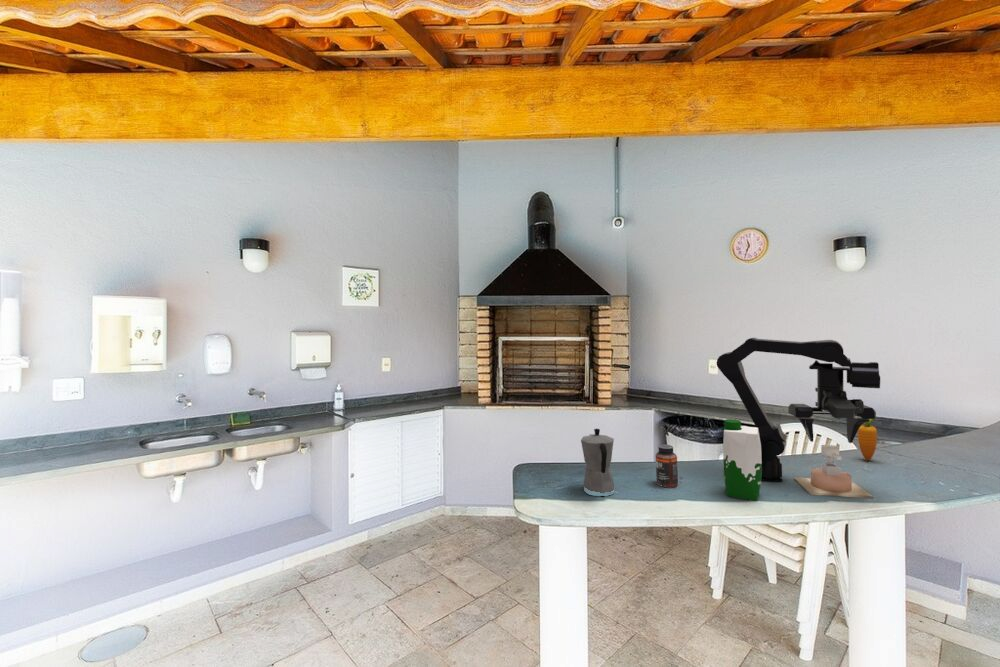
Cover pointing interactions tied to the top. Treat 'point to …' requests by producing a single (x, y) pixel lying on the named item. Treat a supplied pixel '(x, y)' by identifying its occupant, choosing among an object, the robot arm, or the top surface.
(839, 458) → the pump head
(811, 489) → the birch board
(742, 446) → the milk carton
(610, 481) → the coffeepot
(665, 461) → the supplement bottle
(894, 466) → the top surface
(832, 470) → the soap jar
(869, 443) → the carrot
